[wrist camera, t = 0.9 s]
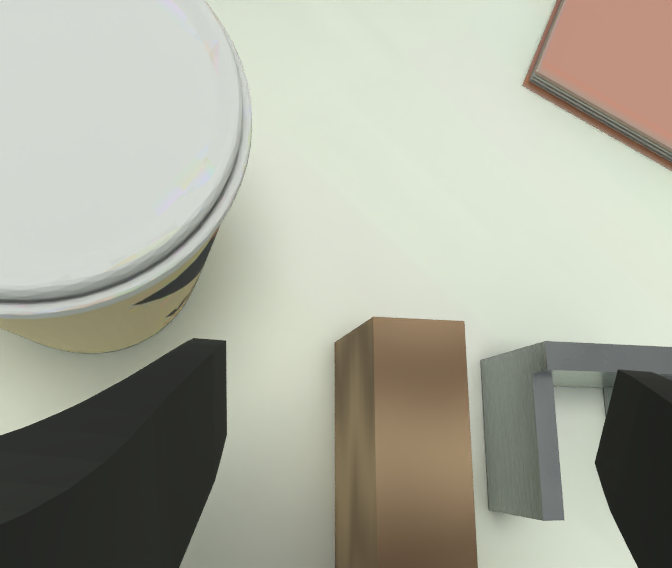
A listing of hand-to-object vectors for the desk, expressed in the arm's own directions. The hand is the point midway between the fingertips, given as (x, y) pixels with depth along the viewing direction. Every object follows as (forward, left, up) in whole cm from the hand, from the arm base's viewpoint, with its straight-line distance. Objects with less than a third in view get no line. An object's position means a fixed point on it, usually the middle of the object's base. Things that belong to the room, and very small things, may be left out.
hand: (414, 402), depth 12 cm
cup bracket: (-1, -11, -13) cm, 18 cm away
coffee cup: (+6, +8, -14) cm, 17 cm away
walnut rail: (-5, -3, -14) cm, 15 cm away
